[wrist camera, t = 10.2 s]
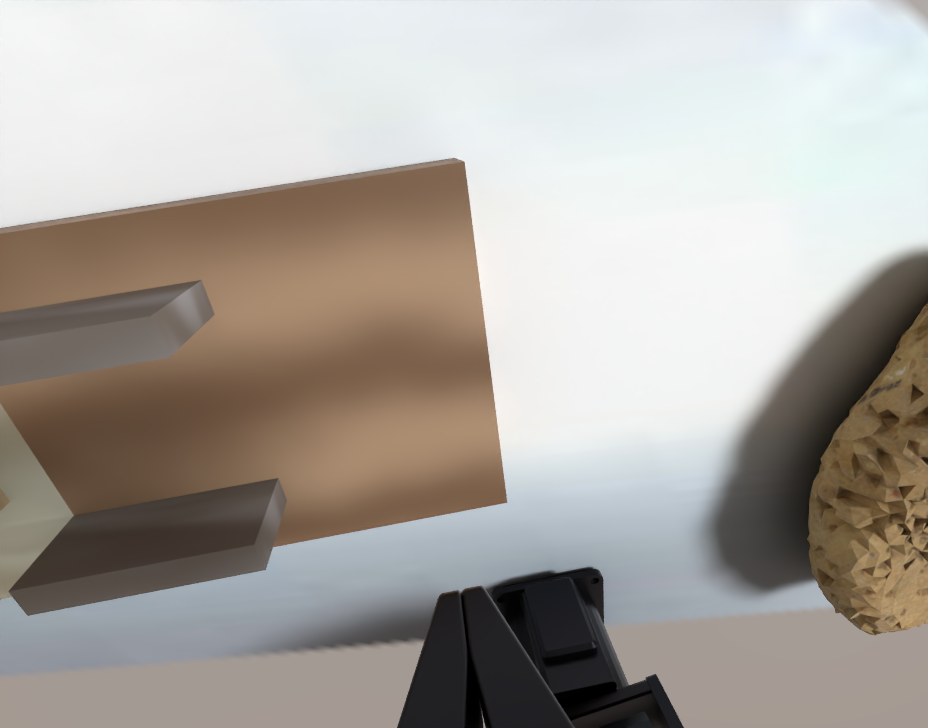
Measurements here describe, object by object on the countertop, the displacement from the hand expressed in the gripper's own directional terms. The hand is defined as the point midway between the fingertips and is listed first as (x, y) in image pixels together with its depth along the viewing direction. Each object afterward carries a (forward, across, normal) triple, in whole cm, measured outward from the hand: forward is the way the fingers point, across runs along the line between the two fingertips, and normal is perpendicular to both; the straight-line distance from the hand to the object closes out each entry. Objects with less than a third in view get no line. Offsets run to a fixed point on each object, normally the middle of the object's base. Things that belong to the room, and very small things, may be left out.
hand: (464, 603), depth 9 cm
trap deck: (+13, +15, 0) cm, 20 cm away
